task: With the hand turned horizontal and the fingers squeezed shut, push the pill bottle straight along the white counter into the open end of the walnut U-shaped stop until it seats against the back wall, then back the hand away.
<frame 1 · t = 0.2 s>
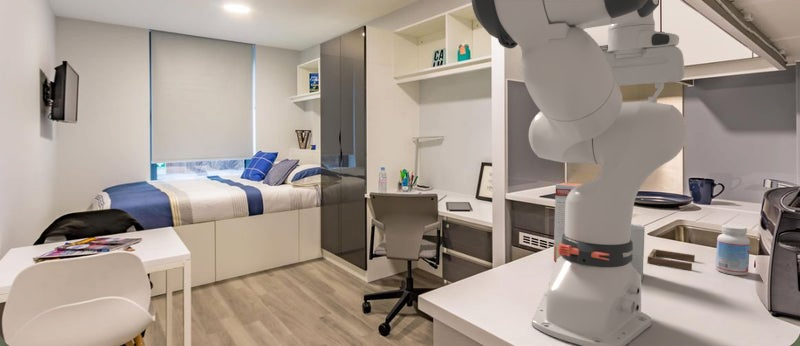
hand: (627, 105, 89), 40 cm above the worktop, tool pointing down, fingers open, 8 cm apart
cracker box: (584, 266, 102), on the worktop
stop: (671, 262, 104), on the worktop
skincare box: (632, 276, 94), on the worktop
pill bottle: (731, 272, 96), on the worktop
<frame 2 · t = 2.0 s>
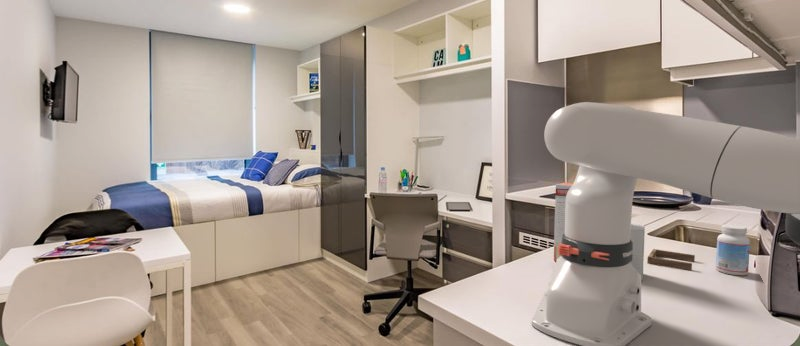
nothing on the worktop moved.
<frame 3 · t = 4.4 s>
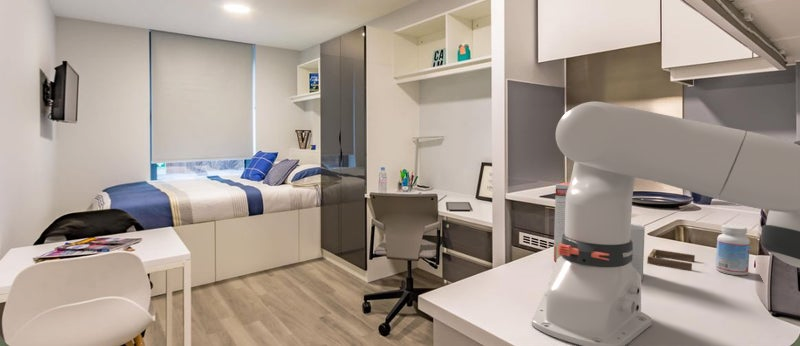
nothing on the worktop moved.
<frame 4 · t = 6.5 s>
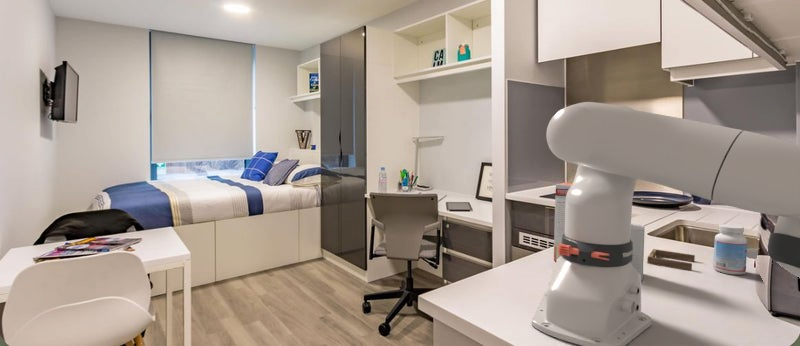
hand: (746, 252, 94), 5 cm above the worktop, tool horizontal, fingers closed
pill bottle: (728, 272, 96), on the worktop, touching gripper
everything else where it was.
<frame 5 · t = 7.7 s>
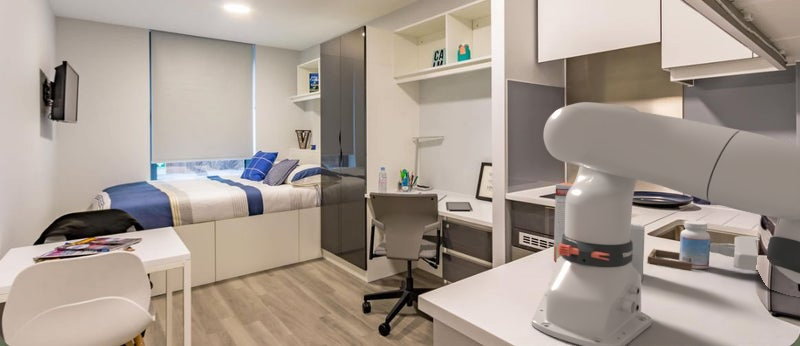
hand: (709, 247, 99), 5 cm above the worktop, tool horizontal, fingers closed
pill bottle: (693, 266, 101), on the worktop, touching gripper
everything else where it was.
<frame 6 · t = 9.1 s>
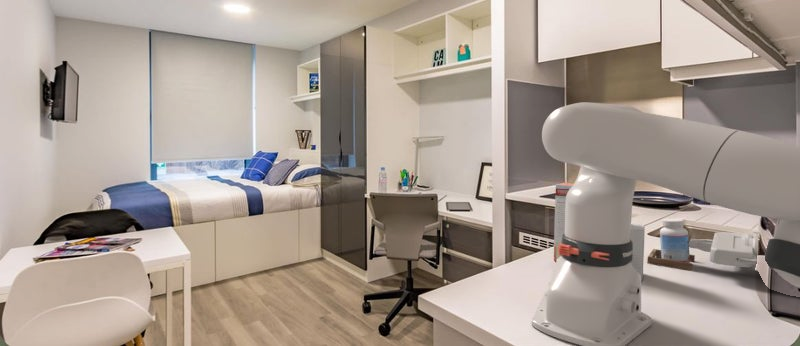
hand: (689, 242, 101), 6 cm above the worktop, tool horizontal, fingers closed
pill bottle: (675, 263, 103), on the worktop, touching gripper
everything else where it was.
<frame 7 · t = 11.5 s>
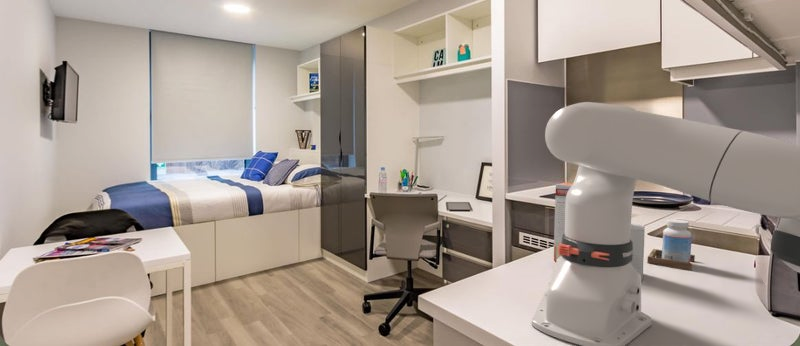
hand: (755, 229, 93), 11 cm above the worktop, tool horizontal, fingers closed
pill bottle: (675, 264, 103), on the worktop
everything else where it was.
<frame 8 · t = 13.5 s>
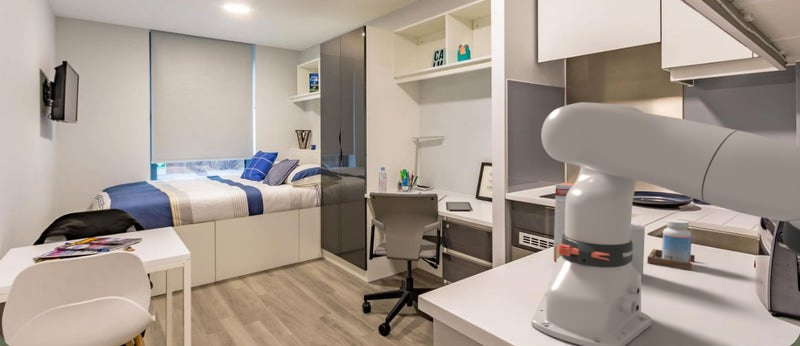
hand: (762, 157, 91), 28 cm above the worktop, tool horizontal, fingers closed
nothing on the worktop moved.
at the end: pill bottle 1.1 cm from the stop (horizontally); pill bottle tilted 0°; pill bottle moved 11.2 cm from its start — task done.
